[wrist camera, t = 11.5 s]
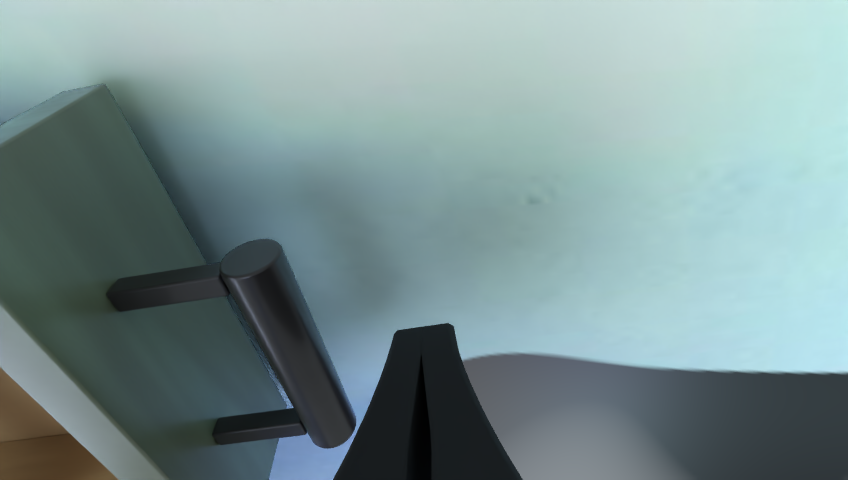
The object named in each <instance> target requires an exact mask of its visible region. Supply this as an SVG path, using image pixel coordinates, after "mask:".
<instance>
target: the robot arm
mask: <svg viewBox="0 0 848 480" xmlns="http://www.w3.org/2000/svg"><path fill="white" fill-rule="evenodd" d="M333 480H522V478H521V476H520V474H519V473H518V471H517V470H516V468H515V466H514V465H513V463H512V461H511V460H510V458H509V456H508V455H507V453H506V451H505V450H504V448H503V446H502V444H501V443H500V441H499V439H498V437H497V435H496V434H495V432H494V430H493V428H492V426H491V424H490V422H489V421H488V419H487V417H486V415H485V413H484V411H483V409H482V407H481V405H480V402H479V401H478V398H477V396H476V394H475V392H474V390H473V387H472V385H471V383H470V381H469V378H468V376H467V373H466V371H465V368H464V365H463V362H462V360H461V357H460V354H459V350H458V346H457V341H456V336H455V331H454V326H453V325H451V324H449V323H446V324H438V325H431V326H424V327H417V328H410V329H403V330H397V331H396V333H395V334H394V336H393V340H392V344H391V347H390V350H389V354H388V357H387V360H386V363H385V366H384V369H383V371H382V374H381V377H380V380H379V382H378V385H377V387H376V390H375V392H374V395H373V397H372V400H371V402H370V405H369V407H368V410H367V412H366V414H365V416H364V419H363V421H362V423H361V425H360V427H359V429H358V431H357V433H356V436H355V438H354V440H353V442H352V444H351V446H350V448H349V450H348V452H347V454H346V456H345V458H344V460H343V462H342V464H341V466H340V468H339V469H338V471H337V473H336V475H335V477H334V479H333Z"/></svg>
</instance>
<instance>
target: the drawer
mask: <svg viewBox="0 0 848 480" xmlns="http://www.w3.org/2000/svg"><path fill="white" fill-rule="evenodd" d="M230 293H231V294H232V296H233V298H234V300H235V302H236V304H237V305H238V307H239V309H240V311H241V313H242V314H243V316H244V318H245V320H246V322H247V323H248V325H249V327H250V329H251V331H252V333H253V334H254V336H255V338H256V340H257V342H258V343H259V345H260V347H261V349H262V351H263V353H264V354H265V356H266V358H267V360H268V362H269V363H270V365H271V367H272V369H273V371H274V372H275V374H276V376H277V378H278V380H279V382H280V383H281V385H282V387H283V389H284V391H285V392H286V394H287V396H288V398H289V400H290V401H291V403H292V405H293V407H294V408H289V409H286V408H287V405H286V403H285V401H284V399H283V398H282V396H281V394H280V392H279V391H278V389H277V387H276V385H275V383H274V382H273V380H272V378H271V376H270V375H269V373H268V371H267V369H266V367H265V366H264V364H263V362H262V360H261V359H260V357H259V355H258V353H257V351H256V350H255V348H254V346H253V344H252V343H251V341H250V339H249V337H248V335H247V334H246V332H245V330H244V328H243V327H242V325H241V323H240V321H239V319H238V318H237V316H236V314H235V312H234V311H233V309H232V307H231V305H230V303H229V302H228V300H227V298H226V296H228V295H229V294H230ZM355 426H356V416H355V414H354V411H353V409H352V407H351V404H350V402H349V400H348V397H347V395H346V393H345V391H344V388H343V386H342V384H341V381H340V379H339V377H338V375H337V372H336V370H335V368H334V365H333V363H332V361H331V358H330V356H329V354H328V352H327V349H326V347H325V345H324V342H323V340H322V338H321V335H320V333H319V331H318V329H317V326H316V324H315V322H314V319H313V317H312V315H311V312H310V310H309V308H308V306H307V303H306V301H305V299H304V296H303V294H302V292H301V290H300V287H299V285H298V283H297V280H296V278H295V276H294V273H293V271H292V269H291V267H290V264H289V262H288V260H287V257H286V255H285V253H284V250H283V248H282V246H281V245H280V244H279V243H278V242H277V241H275V240H272V239H257V240H253V241H249V242H247V243H244V244H242V245H240V246H238V247H236V248H235V249H233V250H232V251H230V252H229V253H228V254H227V255H226V256H225V257H224V258H223V259H222V261H221V262H219V263H213V264H207V263H206V261H205V259H204V257H203V256H202V254H201V252H200V250H199V248H198V247H197V245H196V243H195V241H194V240H193V238H192V236H191V234H190V232H189V231H188V229H187V227H186V225H185V224H184V222H183V220H182V218H181V216H180V215H179V213H178V211H177V209H176V208H175V206H174V204H173V202H172V200H171V199H170V197H169V195H168V193H167V192H166V190H165V188H164V186H163V185H162V183H161V181H160V179H159V177H158V176H157V174H156V172H155V170H154V169H153V167H152V165H151V163H150V161H149V160H148V158H147V156H146V154H145V153H144V151H143V149H142V147H141V145H140V144H139V142H138V140H137V138H136V137H135V135H134V133H133V131H132V129H131V128H130V126H129V124H128V122H127V121H126V119H125V117H124V115H123V113H122V112H121V110H120V108H119V106H118V105H117V103H116V101H115V99H114V97H113V96H112V94H111V92H110V90H109V89H108V87H107V85H106V84H99V85H94V86H89V87H84V88H78V89H73V90H68V91H63V92H61V93H59V94H57V95H55V96H54V97H52V98H50V99H48V100H46V101H44V102H42V103H41V104H39V105H37V106H35V107H33V108H31V109H29V110H28V111H26V112H24V113H22V114H20V115H18V116H16V117H15V118H13V119H11V120H9V121H7V122H5V123H3V124H2V125H0V480H269V476H270V472H271V468H272V464H273V460H274V456H275V452H276V448H277V444H278V440H279V438H283V437H291V436H299V435H305V434H306V433H307V432H308V434H309V436H310V438H311V440H312V441H313V443H314V444H315V445H317V446H319V447H321V448H327V449H328V448H334V447H337V446H340V445H341V444H343V443H344V442H346V441H347V440H348V439H349V438H350V437H351V435H352V434H353V432H354V430H355Z"/></svg>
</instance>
